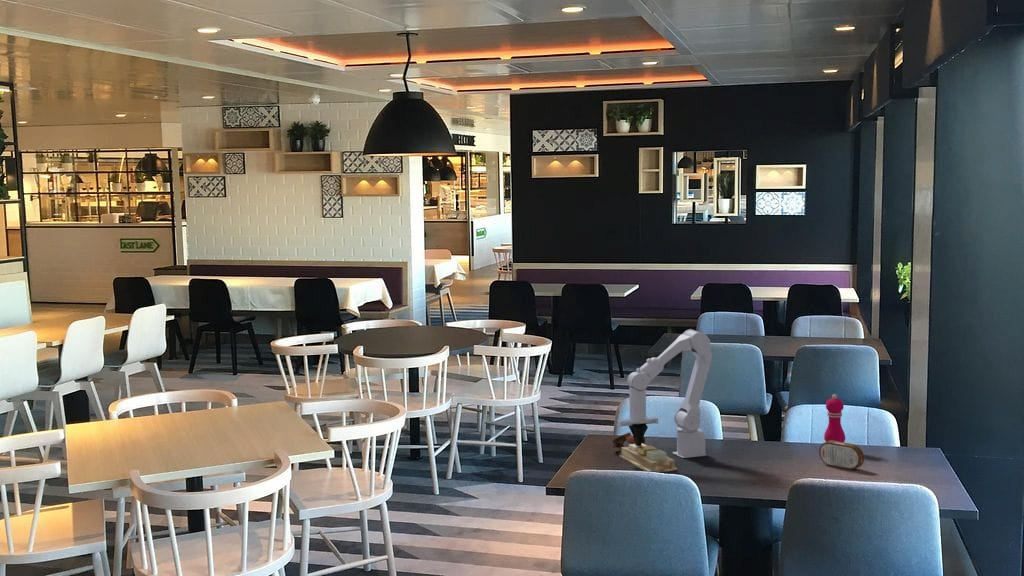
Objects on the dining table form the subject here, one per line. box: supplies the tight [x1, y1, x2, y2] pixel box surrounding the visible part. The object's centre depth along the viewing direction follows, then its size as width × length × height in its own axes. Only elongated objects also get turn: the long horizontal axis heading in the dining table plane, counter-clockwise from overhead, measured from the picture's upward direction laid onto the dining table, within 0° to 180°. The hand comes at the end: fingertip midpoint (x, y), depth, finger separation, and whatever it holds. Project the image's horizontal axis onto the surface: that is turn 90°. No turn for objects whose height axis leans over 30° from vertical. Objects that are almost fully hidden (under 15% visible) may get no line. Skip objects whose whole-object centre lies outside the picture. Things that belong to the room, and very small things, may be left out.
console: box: [618, 446, 678, 473], centre depth 341 cm, size 10×24×3 cm, turn 18°
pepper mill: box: [823, 393, 846, 443], centre depth 354 cm, size 7×7×20 cm
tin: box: [818, 440, 865, 471], centre depth 330 cm, size 15×3×8 cm, turn 43°
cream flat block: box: [637, 444, 658, 456], centre depth 341 cm, size 5×5×2 cm
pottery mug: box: [611, 432, 646, 451], centre depth 358 cm, size 12×10×8 cm
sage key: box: [647, 449, 668, 461], centre depth 334 cm, size 5×5×2 cm
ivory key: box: [628, 443, 648, 452], centre depth 348 cm, size 5×5×2 cm
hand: (638, 445), depth 348 cm, fingers closed, pressing on ivory key
